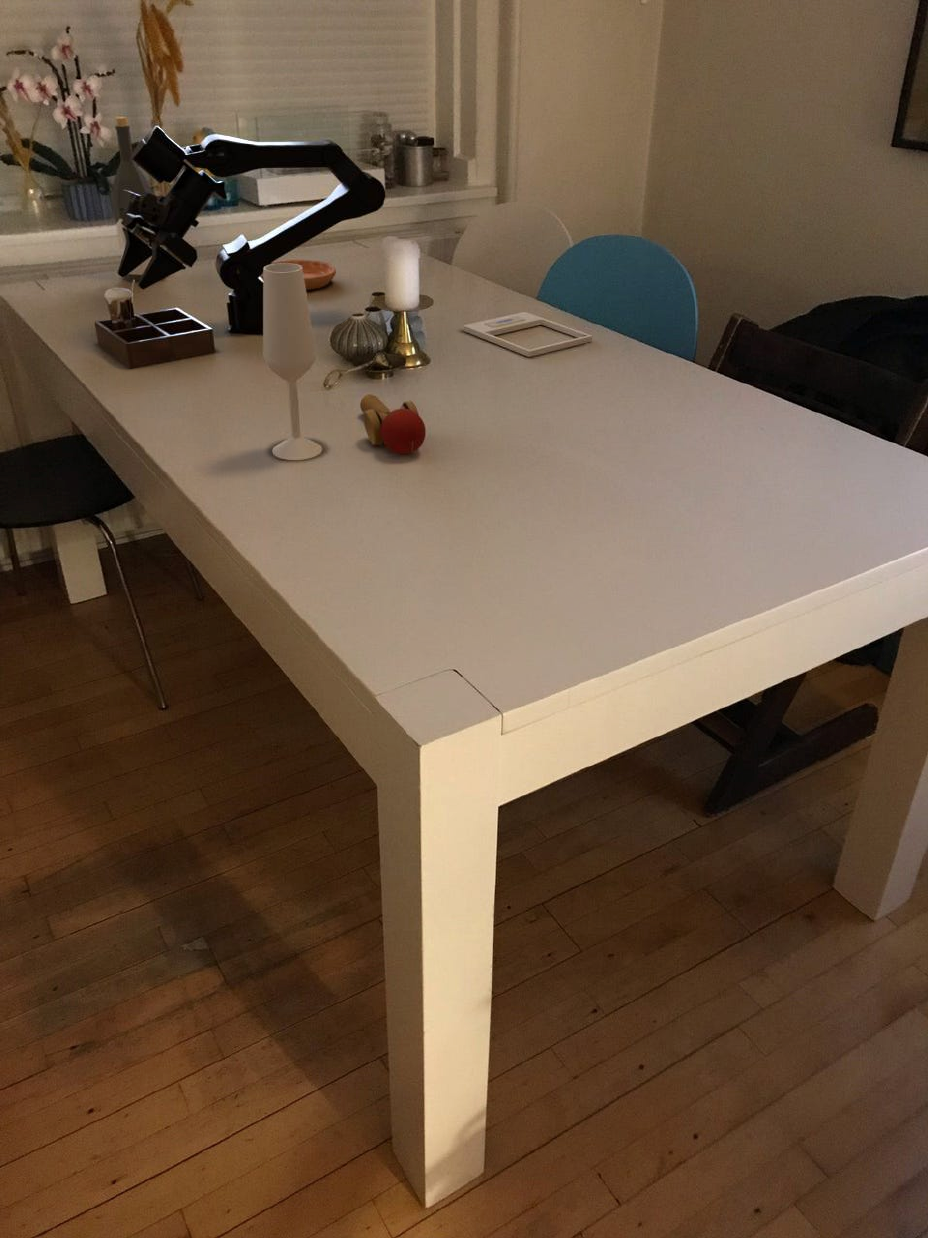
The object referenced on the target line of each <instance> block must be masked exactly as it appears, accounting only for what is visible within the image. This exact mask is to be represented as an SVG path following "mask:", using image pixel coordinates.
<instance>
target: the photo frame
mask: <svg viewBox="0 0 928 1238" xmlns="http://www.w3.org/2000/svg"><path fill="white" fill-rule="evenodd" d="M540 325H542V326H545V327H547V328H549V329H553V330H555V331H558V332H561V333H563V334H566V335H569V336H572V337H575V338H572V339H568V340H564V341H559V342H556V343H555V342H554V343H552V344H548V345H543V346H540V347H536V348H531V349H528V348H526V347H524V346H520V345H518V344H516V343H513V342H510V341H508V340H506V339H503V338H500V337H498V336H497V335H502V334H506V333H509V332H514V331H519V330H523V329H528V328H531V327H536V326H540ZM462 331H463V332H465V333H467V334H469V335H474V336H475V337H478V338H480V339H483V340H485V341H488V342H491V343H493V344H495V345H498V346H501V347H503V348H505V349H508V350H510V351H513V352H515V353H517V354H521V355H523V356H525V357H527V358H530V357H535V356H539V355H543V354H547V353H550V352H551V353H552V352H554V351H555V352H556V351H559V350H562V349H566V348H567V349H568V348H570V347H575V346H580V345H582V344H583V345H584V344H586V343H590V342H593V335H591V334H588V333H585V332H583V331H580V330H577V329H574V328H571V327H569V326H566V325H563V324H561V323H558V322H554V321H552V320H549V319H546V318H543V317H541V316H538V315H535V314H532V313H529V312H527V311H523V312H518V313H514V314H510V315H504V316H500V317H496V318H491V319H486V320H482V321H476V322H473V323H469V324H464V325H462Z"/></svg>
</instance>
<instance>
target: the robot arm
mask: <svg viewBox="0 0 928 1238" xmlns="http://www.w3.org/2000/svg"><path fill="white" fill-rule="evenodd" d="M130 159H131V160H132V161H133V162H134V163H135V164H137V166H138V167H139V169H140V170H143V172H145V173H146V174H147V175H149V176H150V177H151V178H152V179H153V180H154V181H156V182H157V183H158V184H162V183H164V182H165V183H168V184H171V183H172V182H173V181H174V180H175V179H176V180H175V182H174V183H173V185H172V186H171V188H170V189H169V191H168V192H167V194H166V195H163V194H159V195H156V194H153V193H152V194H151V193H148V192H146V191H144V192H143V193H142V194H141V195H138V194H135V193H133V192H130V191H127V190H125V189H123V192H122V196H121V200H120V204H119V209H121V210H124V211H125V212H127V213H129V214H127V215H126V216H125V218H124V219H123V221H122V222H121V224H122V225H123V226H125V227H126V228H127V229H126V228H124V227H122V230H123V232H124V234H125V238H126V246H125V249H124V253H123V256H122V258H121V260H120V263H119V265H118V269H117V275H118V276H119V277H121V278H125V276H126V275H127V274H129V273H130V272H132V271H133V270H134V269H135V268H137V267H138V266H139V265H141V264H142V263H143V262H144V261H146V260H147V259H148V258H150V257H151V256H152V258H151V259H150V261H149V263H148V265H147V267H146V269H145V271H144V273H143V275H142V277H141V279H140V281H139V282H137V286H138V288H140V289H141V290H144V291H145V290H146V289H148V288H149V287H151V286H154V285H155V284H157V283H159V282H160V281H162V280H164V279H166V278H168V277H170V276H171V275H174V274H176V273H178V272H180V271H182V270H183V271H184V270H186V269H187V267H188V268H192V267H193V266H194V265H195V263H196V262H197V260H198V250H197V249H196V248H195V247H194V246H192V245H191V244H190V243H189V242H188V241H187V240H185V239H184V237H185V236H186V234H187V233H188V231H189V230H190V229H191V227H194V228H197V227H198V225H199V224H200V222H199V220H197V218H198V217H199V216H200V214H201V213H202V211H203V210H204V208H205V207H206V205H207V204H208V202H209V201H210V199H211V198H212V197H213V196H215V197H216V198H217V199H218V200H227V198H228V196H227V192H226V191H227V190H226V188H225V187H226V182H225V181H217V180H215V179H214V178H213V177H212V176H215V177H217V178H228V177H232V176H233V177H234V176H238V175H243V174H246V173H249V172H251V171H255V170H261V169H311V168H312V169H313V168H314V169H315V168H322V169H323V168H327V170H329V172H330V173H331V174H332V175H333V176H334V177H335V178H336V179H337V181H339V184H338V185H337V187H335V189H334V190H333V191H332V192H331V194H329V196H328V197H327V198H326V199H324V200H323V201H321V202H319V203H317V204H315V205H314V206H312V207H310V208H309V209H307V210H305V211H303V212H302V213H300V214H299V215H297V216H296V217H294V218H291V219H290V220H289V221H287V222H285V223H284V224H282V225H280V226H278V227H277V228H275V229H273V230H272V231H270V232H268V233H266V234H265V235H263V236H261V237H260V238H257V239H253V240H249V241H248V240H247V238H246V237H245V236H244V234H240V235H239V236H237V238H235V239H234V240H233V241H231V242H230V243H227V244H222V248H223V249H222V250H221V251H220V252H218V254H217V255H216V259H215V262H214V263H215V270H216V272H217V275H218V276H219V278H220V280H221V282H222V283H223V284H224V285H225V287H227V288H228V289H231V290H232V291H231V292H230V293H228V301H227V302H226V309H227V310H226V311H227V318H228V325H229V326H230V327H229V328H228V332H230V333H241V334H242V333H243V334H244V333H245V334H259V335H263V279H262V278H261V275H262V273H263V268H264V267H265V266H267V265H270V264H271V263H273V262H276V261H277V260H278V259H280V258H282V257H283V256H285V255H286V254H288V253H290V252H292V251H293V250H295V249H297V248H298V247H300V246H302V245H304V244H306V243H308V242H309V241H311V240H312V239H314V238H315V237H317V236H319V235H320V234H322V233H324V232H326V231H328V230H329V229H331V228H332V227H334V226H335V225H337V224H339V223H342V222H344V221H348V220H353V219H359V218H363V217H364V216H367V215H369V214H372V213H375V212H377V211H379V210H380V209H381V208H383V206H384V203H385V200H386V189H385V186H384V185H383V183H382V182H381V181H380V180H379V179H378V178H376V177H375V176H374V175H372V174H370V173H369V172H366V171H363V170H362V169H361V168H360V167H359V166H358V165H357V164H356V163H355V162H354V161H353V160H352V159H351V158H350V157H349V156H348V155H347V154H346V153H345V152H344V150H343V148H342V147H341V146H340V145H339V144H337V143H336V142H335V141H333V140H330V139H325V140H322V141H251V140H246V139H242V138H239V137H234V136H229V135H223V134H219V133H214V134H209V135H207V136H206V137H205V138H204V139H203V140H202V141H201V142H200V143H197V144H192V145H187V146H184V147H181V146H179V145H178V144H177V143H176V142H175V141H174V140H172V139H171V138H170V137H169V136H168V135H167V134H166V133H165V131H164V130H163V129H162V128H160V126H158V125H155V126H154V127H153V128H152V130H151V131H149V132H148V133H147V134H146V136H144V138H141V139H140V141H139V143H138V144H137V145H136V147H135V148H134V149H133V153H132V155H131V158H130ZM185 161H186V162H185ZM188 163H189V164H190V165H191V166H192V167H191V166H190V165H189V164H188ZM194 168H197V169H202V170H200V171H196V170H195V169H194ZM182 169H183V170H182ZM203 169H205V170H207V171H208V172H209V173H210V174H211V175H212V176H210V175H209V174H208V173H207V172H206V171H204V170H203ZM180 172H181V173H180ZM179 173H180V174H179ZM177 176H178V178H176V177H177ZM160 245H161V246H160ZM149 246H150V247H152V249H151V248H150V247H149ZM186 266H187V267H186Z"/></svg>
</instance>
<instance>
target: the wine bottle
mask: <svg viewBox="0 0 928 1238" xmlns="http://www.w3.org/2000/svg"><path fill="white" fill-rule="evenodd" d="M114 118H115V126H114V127H115V131H116V132H115V133H116V137H117V143H118V150H119V157H120V162H119V165H118V168H117V171H116V174H115V176H114V181H113V184H112V197H111V198H112V199H111V203H112V207H113V213H114V214H113V215H114V220H115V221H114V222H115V226H116V233H117V239H118V246H119V251H120V257H121V259H122V256H123V253H124V249H125V246H126V238H125V234H124V232H123V230H122V227H124V228H126V227H125V226H123V225H122V224H121V222H122V221H123V219H124V218H125V216H126V215H127V214H129V213H127V212H125V211H124V210H121V209H119V204H120V200H121V196H122V192H123V189H125V190H127V191H130V192H133V193H135V194H138V195H141V194H142V193H143V192H144V191H146V192H148V193H151V194H153V192H152V188H151V185H150V184H149V182H148V180H147V178H146V176H145V175H144V173H143V172H142V169H141V168H140V167H139V166H138V165H137V164H135V163H134V162H133V161H132V160H131V159H130V158H131V155H132V153H133V151H134V149H133V145H132V137H131V131H130V129H131V128H130V125H129V124H128V123H129V122H128V118H127V117H126V116H117V117H114ZM126 229H127V228H126ZM160 246H161V245H160ZM149 247H150V246H149ZM150 248H151V249H152V247H150ZM151 258H152V256H151V257H150V258H148V259H147V260H146V261H144V262H143V263H142V264H141V265H139V266H138V267H137V268H135V269H134V270H133V271H132V272H130V273H129V274H127V275H126V276H125V277H124V279H126V280H127V281H128V282H131V283H132V282H133V280H134V283H139V281H140V279H141V277H142V275H143V273H144V271H145V269H146V267H147V265H148V263H149V261H150V259H151Z"/></svg>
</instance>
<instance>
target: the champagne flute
mask: <svg viewBox="0 0 928 1238" xmlns="http://www.w3.org/2000/svg"><path fill="white" fill-rule="evenodd" d="M307 294H308V293H307V290H306V287H305V281H304V275H303V269H302V266H300V265H298V264H292V263H277V264H271V265H267V266H265V267H264V268H263V334H262V339H263V340H262V357H263V359H264V360H263V361H264V362H265V364H266V365H267V367H268V368H269V369H270V370H271V371H272V372H273V373H274V374H275V375H277V376H278V377H279V378H280V379H282V380H284V381H286V382H287V394H288V395H287V396H288V408H289V420H290V431H291V437H289V438H287V439H285V440H284V441H282V442H280V443H279V444H277V445H275V446H273V448H272V450H271V451H272V454H273V456H274V457H276V458H279V459H283V460H287V461H302V460H308V459H312V458H314V457H317V456H318V455H320V454H321V453H322V451H323V447H322V446H321V445H320V444H318V443H317V442H315V441H312V440H311V439H308V438H306V437H303V436H301V424H300V410H299V397H298V386H297V385H298V384H297V383H298V382H297V381H298V380H301V379H302V378H303V377H304V375H306V374H307V372H309V370H311V368H312V367H313V365H314V364H315V361H316V358H317V350H316V344H315V338H314V331H313V325H312V320H311V313H310V307H309V300H308V295H307Z"/></svg>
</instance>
